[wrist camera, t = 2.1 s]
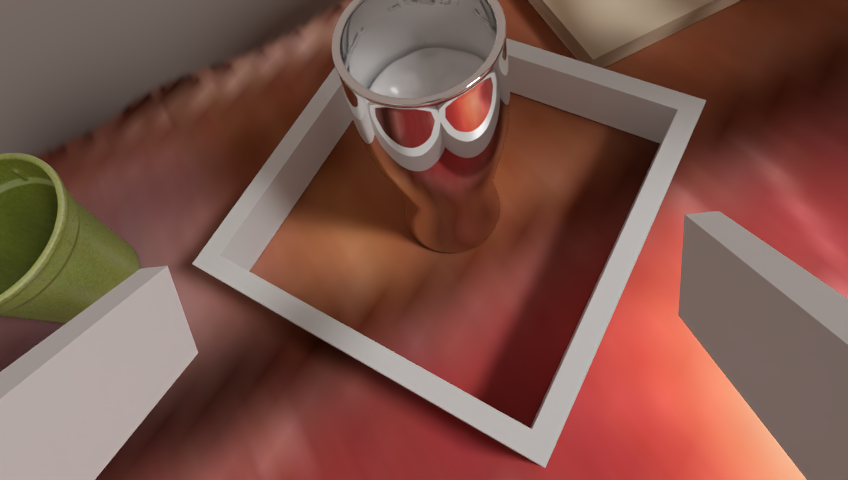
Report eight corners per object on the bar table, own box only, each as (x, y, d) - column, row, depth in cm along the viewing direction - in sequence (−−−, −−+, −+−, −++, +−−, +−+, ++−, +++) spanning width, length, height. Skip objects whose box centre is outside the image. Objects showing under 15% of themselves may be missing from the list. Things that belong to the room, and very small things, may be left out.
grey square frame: (685, 135, 32) (706, 100, 29) (539, 465, 26) (545, 467, 23) (393, 37, 39) (383, -1, 35) (222, 282, 33) (192, 264, 29)
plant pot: (173, 321, 32) (65, 278, 24) (33, 373, 32) (-120, 348, 24) (157, 200, 36) (60, 129, 28) (32, 246, 36) (-101, 188, 28)
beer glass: (526, 188, 32) (545, -7, 18) (473, 279, 30) (451, 138, 17) (432, 147, 34) (388, -55, 21) (378, 230, 32) (289, 69, 19)
